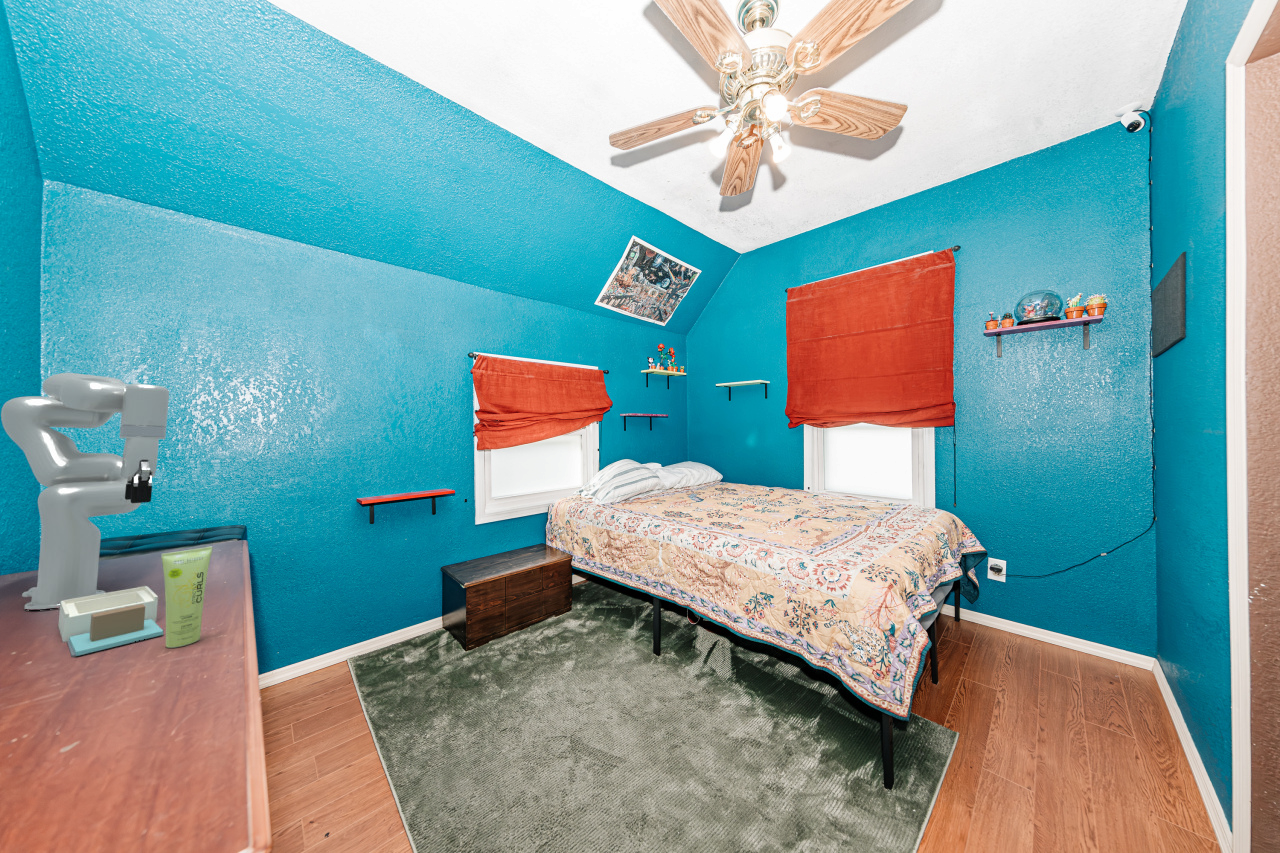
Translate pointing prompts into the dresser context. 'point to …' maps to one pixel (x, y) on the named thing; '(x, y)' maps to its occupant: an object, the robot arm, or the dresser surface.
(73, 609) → the box
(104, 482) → the robot arm
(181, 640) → the tube
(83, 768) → the dresser surface
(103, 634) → the lid
